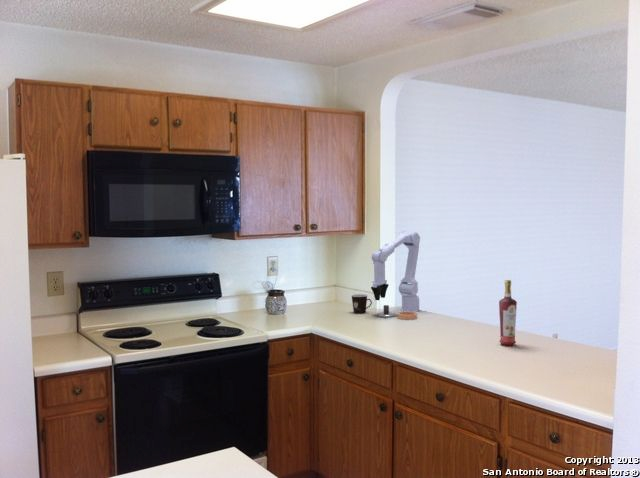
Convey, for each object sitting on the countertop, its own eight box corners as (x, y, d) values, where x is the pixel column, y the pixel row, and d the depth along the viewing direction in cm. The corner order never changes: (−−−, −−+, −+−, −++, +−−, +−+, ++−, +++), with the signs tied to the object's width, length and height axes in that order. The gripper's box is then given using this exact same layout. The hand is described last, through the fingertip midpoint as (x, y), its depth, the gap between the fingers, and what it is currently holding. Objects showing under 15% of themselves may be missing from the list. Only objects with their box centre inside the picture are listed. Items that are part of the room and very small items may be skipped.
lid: (387, 312, 342) (386, 303, 341) (399, 315, 334) (398, 305, 333) (373, 315, 336) (373, 305, 336) (385, 318, 328) (385, 308, 328)
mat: (387, 313, 343) (387, 312, 343) (402, 316, 334) (402, 315, 334) (370, 316, 337) (370, 315, 336) (385, 319, 327) (385, 318, 327)
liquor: (504, 347, 266) (505, 282, 264) (495, 343, 273) (495, 279, 271) (519, 346, 268) (520, 281, 266) (510, 342, 275) (510, 278, 273)
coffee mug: (349, 313, 346) (348, 295, 346) (362, 311, 350) (362, 293, 349) (359, 316, 336) (358, 298, 335) (373, 315, 340) (372, 296, 339)
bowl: (407, 316, 335) (407, 310, 334) (420, 319, 326) (420, 313, 326) (393, 318, 329) (393, 313, 329) (406, 321, 321) (406, 316, 320)
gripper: (377, 271, 341) (378, 296, 342) (367, 275, 328) (367, 300, 329) (390, 271, 337) (390, 296, 338) (379, 275, 324) (380, 301, 326)
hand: (380, 298), depth 333 cm, fingers open, 7 cm apart
